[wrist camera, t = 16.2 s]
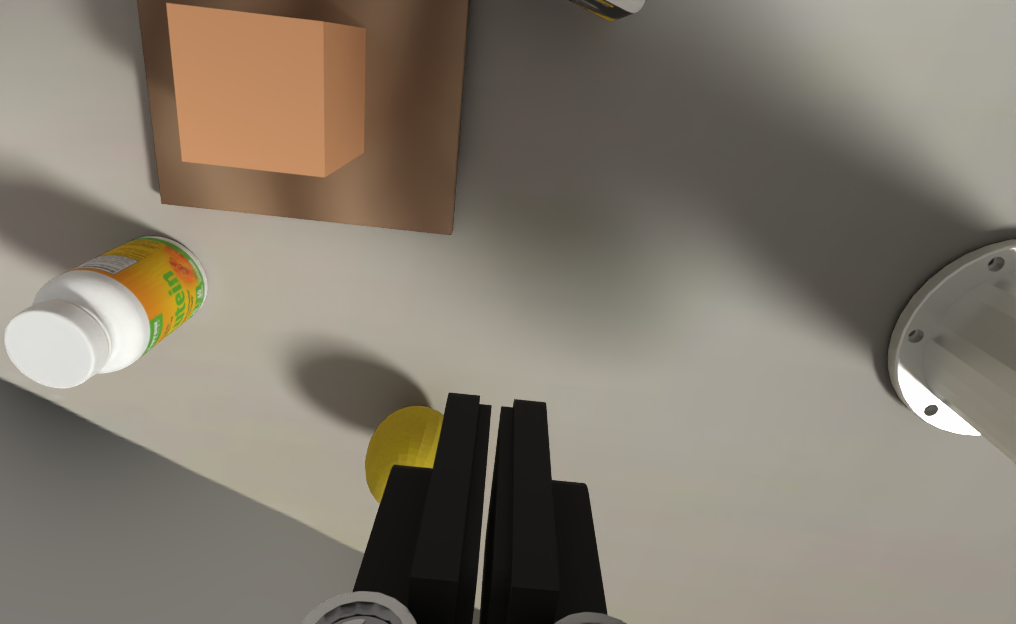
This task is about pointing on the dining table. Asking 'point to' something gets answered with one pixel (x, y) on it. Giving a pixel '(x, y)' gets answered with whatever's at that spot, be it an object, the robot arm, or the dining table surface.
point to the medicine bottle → (611, 7)
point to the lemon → (402, 444)
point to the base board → (387, 128)
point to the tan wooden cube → (267, 90)
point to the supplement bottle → (106, 312)
